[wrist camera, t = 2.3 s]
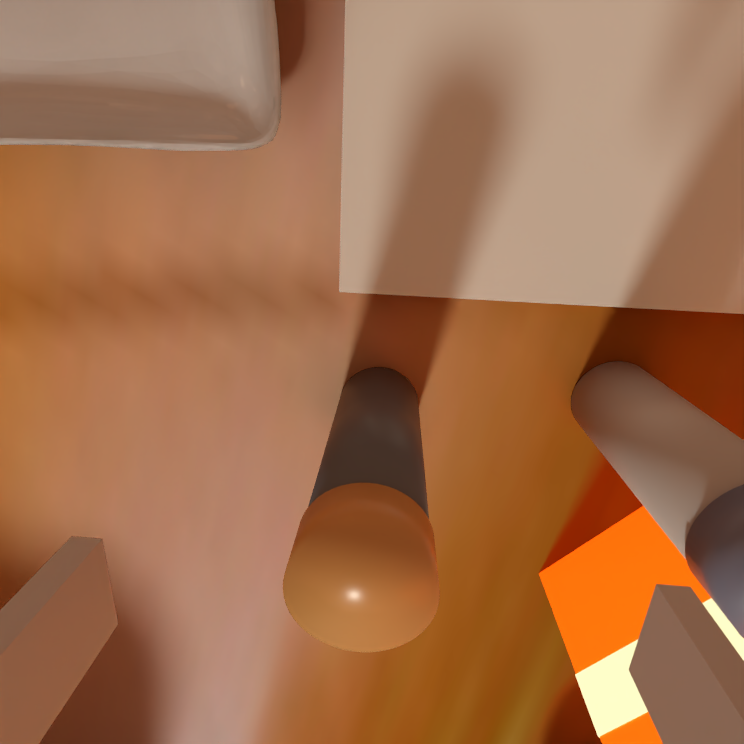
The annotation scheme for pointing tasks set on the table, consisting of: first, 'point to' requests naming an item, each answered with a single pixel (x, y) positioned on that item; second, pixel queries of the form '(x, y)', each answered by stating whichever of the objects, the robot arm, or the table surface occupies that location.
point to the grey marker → (673, 471)
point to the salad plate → (140, 73)
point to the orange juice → (618, 617)
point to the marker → (367, 525)
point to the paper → (545, 151)
